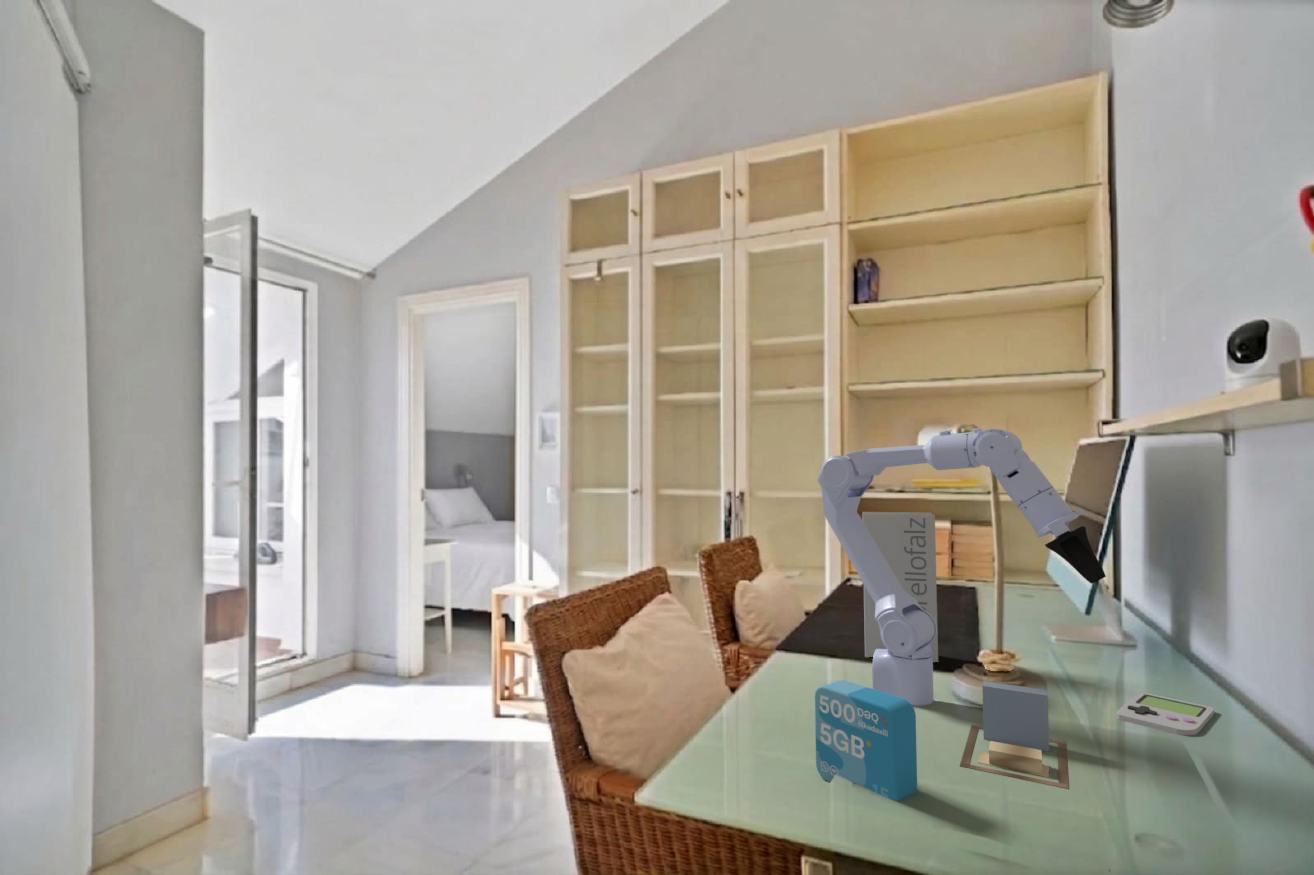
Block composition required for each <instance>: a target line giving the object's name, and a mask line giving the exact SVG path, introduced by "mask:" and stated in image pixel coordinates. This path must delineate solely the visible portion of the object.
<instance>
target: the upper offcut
mask: <svg viewBox="0 0 1314 875" xmlns="http://www.w3.org/2000/svg"><path fill="white" fill-rule="evenodd" d="M988 747H989V748H988V753H989V764H992V765H997V766H1003V767H1008V768H1013V769H1018V770H1023V771H1028V772H1033V773H1039V774H1042V764H1043V753H1042V751H1043V750H1038V749H1033V748H1028V747H1022V746H1017V745H1012V744H1006V743H1001V742H996V741H990V740H989V746H988Z"/></svg>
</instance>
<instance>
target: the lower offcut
mask: <svg viewBox="0 0 1314 875" xmlns="http://www.w3.org/2000/svg"><path fill="white" fill-rule="evenodd" d="M977 764H981V765H986V766H991V767H997V768H1001V769H1006V770H1012V771H1016V772H1020V773H1025V774H1030V775H1034V776H1038V777H1039V776H1041V777H1045V778H1049V777H1050V774H1049V773H1050V765H1049V764H1044V763H1042V774H1039V773H1033V772H1028V771H1023V770H1018V769H1013V768H1008V767H1003V766H997V765H992V764H989V752H983V751H980V754H979V757H978V761H977Z"/></svg>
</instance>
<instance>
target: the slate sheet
mask: <svg viewBox="0 0 1314 875" xmlns="http://www.w3.org/2000/svg"><path fill="white" fill-rule="evenodd" d="M1048 694H1049V693H1048V690H1047V689H1041V688H1035V687H1034V688H1033V687H1027V686H1023V685H1022V686H1020V685H1013V684H1006V683H1001V682H994V681H985V680H983V683H982V716H983V717H982V721H983V727H984V730H983V740H986V741H989V742H990V741H994V742H999V743H1005V744H1011V745H1016V746H1022V747H1027V748H1033V749H1038V750H1042V751H1045V752H1050V742H1049V738H1050V728H1049V725H1050V724H1049V699H1048V697H1049V695H1048Z"/></svg>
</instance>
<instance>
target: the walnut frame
mask: <svg viewBox="0 0 1314 875" xmlns="http://www.w3.org/2000/svg"><path fill="white" fill-rule="evenodd" d="M979 730H983V731H984V725H983V726H981V725H976V724H971V726H970V729H969V733H968V736H967V740H966V744H965V746H964V749H963V752H962V757H961V760H960V764H959V767H962V768H965V769H969V770H975V771H980V772H985V773H990V774H994V775H999V776H1004V777H1008V778H1014V779H1017V780H1018V779H1019V780H1024V781H1027V782H1033V783H1038V784H1042V785H1046V786H1051V787H1057V788H1059V789H1066V790H1069V773H1068V772H1069V771H1068V759H1067V758H1068V757H1067V741H1066V740H1060V739H1055V738H1050V737H1049V743H1054V744H1055V743H1056V744H1057V771H1058V772H1057V774H1058V775H1057V776H1058V782H1056V781H1055V782H1054V781H1052V780H1046V779H1042V778H1036V777H1031V776H1027V775H1022V774H1016V773H1012V772H1007V771H1002V770H998V769H993V768H988V767H983V766H978V765H973V764H970V763H971V758H972V755H973V751H974V747H975V743H976V739H977V736H978V732H979Z"/></svg>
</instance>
